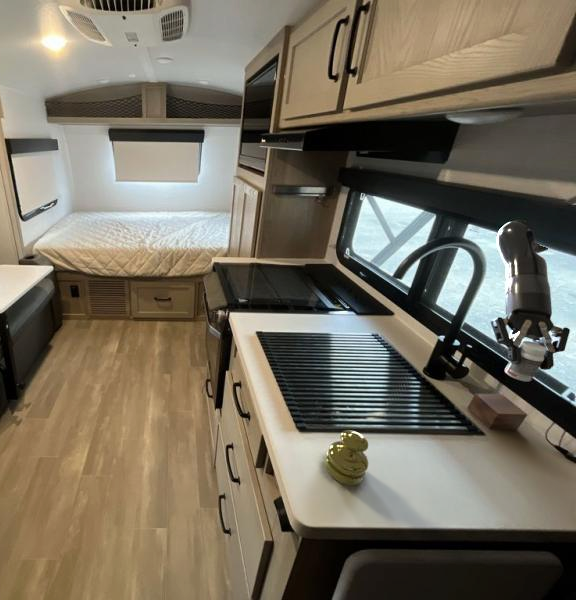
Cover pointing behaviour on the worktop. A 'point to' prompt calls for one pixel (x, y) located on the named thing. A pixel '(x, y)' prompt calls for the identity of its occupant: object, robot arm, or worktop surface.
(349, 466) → the gold metal rounded figure
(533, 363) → the pill bottle
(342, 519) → the worktop surface
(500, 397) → the walnut block
